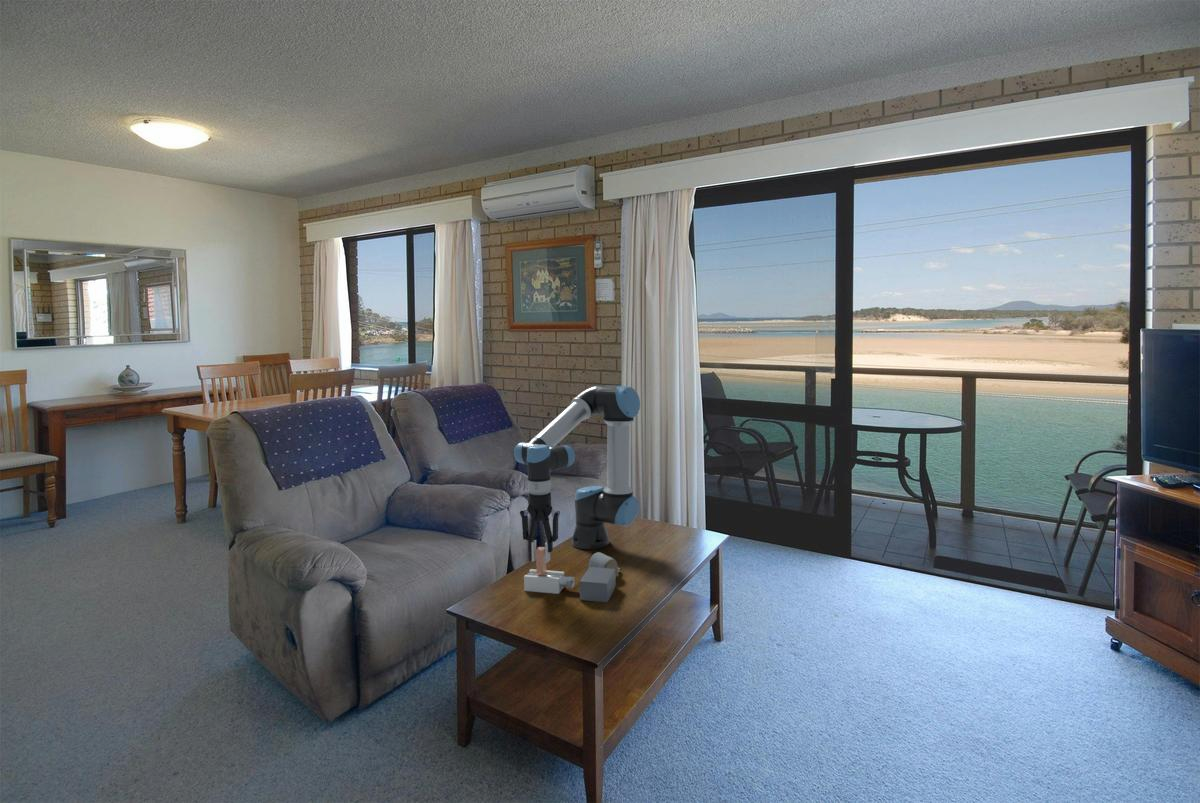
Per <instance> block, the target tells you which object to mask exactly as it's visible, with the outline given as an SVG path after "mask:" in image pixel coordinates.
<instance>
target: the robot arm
mask: <svg viewBox="0 0 1200 803" xmlns="http://www.w3.org/2000/svg"><path fill="white" fill-rule="evenodd" d="M640 408H641V400H640V397H639V394H638V392H637V391H636V389H635V388H634V387H631V386H628V385H614V384H613V385H609V384H607V385H605V384H597V385H594V386H590V387H588V388H587V389H585V390H583V391H582V392H580V393H579V394H577V395H576V396H575V397H574V398H573V399H571V400H570V404H569V405H568V406H567V407H566V408H565V409H564V410H563V411H562V412H561V413H560V414H558V415H557V416H556V417H555V418H554V419H553V420H552V421H551V422H549V423H548V424H547V425H546V426H545V427H544V428H543V429H541V430H540V431H539V433H538V434H536V435H535V436H534V437H533V438H532V439H531V440H530V439H529V441H528V442H527V441H524V442H519V443H518V444H516V446H515V447H514V449H513V450H514V451H513V456H514V458H515V461H516V462H518V463H520V464H523V465H527V466H526V467H527V468H526V471H527V472H526V473H527V492H528V493H527V502H528V505H527V508H523V509H521V510H520V511H519V514H520V516H521V528H522V538H523V540H526V541H527V542H528V550H529V551H531V562H536V549H537V539H535V535H536V530H537V525H538V524H537V523H538V521H541V523H542V525H543V529H544V533H545V538H546V542H545V543H544V545H545V546H544V547H545V556H546V564H547V563H549V562H550V561H551V553H552V552H553V549H554V547H553V546H554V544H553V543H555V542H557V540H558V539H559V518H560V514H561V511H560V510H555V509H553V506H552V492H551V489H552V484H551V483H552V482H551V472H554V471H557V470H562V469H566V468H569V467H570V466H572V465H573V464H574V463H575V460H576V453H575V450H574V448H572V446H569V445H568V444H567V445H559V446H557V445H558V444H559V443H560V442H561V441H562V440H564V438H565V437H566V436H568V434H570V433H571V432H572V431H573V430H574V429H575V428H576V427H577V426H578V425H580V423H581V422H582V421H585V420H588V419H590V418H591V417H592V416H594V415H603V422H604V423H605V424H606V426H607V427H606V428H607V431H606V433H607V435H606V436H607V439H606V440H607V443H606V445H607V446H606V447H607V448H606V457H607V458H606V486H605V487H604V486H601V485H591V486H584V487H581V488H579V489H577V490H576V491H575V498H574V503H575V504H574V506H575V508H574V509H575V510H574V512H575V526H574V530H573V534H572V536H571V545H572V546H573V547H574V548H577V549H582V550H598V549H602V548H605V547H607V546H608V545H610V537H609V533H608V531H607V528H606V524H605V523H607V524H610V525H611V524H612V525H615V526H618V527H619V526H623V527H628V526H630V525H631V524H632V523H633V522H634V521H636V520H635V519H636V518H637V516H638V513H639V511H640V510H639V508H640V503H639V502H640V501H639V500H638V498H637V497H635V496H634V490H633V489H632V488H631V487H630V431H631V430H630V425H631V424H632V423H633V422H634V418H635V417H636V416H637V415H638V414H639V411H640ZM528 515H530V516H531V520H530V528H529V517H528ZM550 515H551V517H552V529H551V524H550V517H549V516H550Z"/></svg>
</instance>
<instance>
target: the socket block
mask: <svg viewBox="0 0 1200 803" xmlns="http://www.w3.org/2000/svg"><path fill="white" fill-rule="evenodd" d="M616 584H617V583H616V574H615V569H610V568H597V567H589V566H588V568H587V570H586V571H585V573H584V574H583V576H582V577H581V578H580V580H579V600H581V601H589V602H598V603H608V602H609V600H610V598H611V596H612V594H613V593H614V591H615V589H616Z"/></svg>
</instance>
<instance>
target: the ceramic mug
mask: <svg viewBox="0 0 1200 803" xmlns="http://www.w3.org/2000/svg"><path fill="white" fill-rule="evenodd" d="M589 567H597V568H610V569H615V575H616V574H617V573H620V571H621V568H620V567H619V566H618V562H617V560H616V559H615V558H613V557H611V556H609V555H607V554H605V553H602V552H600V551H599V552H595V553H593V554H592V555H591V557H590V559H589V562H588V568H589Z"/></svg>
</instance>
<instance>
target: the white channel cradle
mask: <svg viewBox="0 0 1200 803" xmlns="http://www.w3.org/2000/svg"><path fill="white" fill-rule="evenodd" d="M528 573H533V574H537V572H536V569H533V568H530V569H529V572H528ZM545 575H557V576H565V571H558V570H548V569H546V574H545ZM523 583H524V584H523V585H524V588H523V589H524V591H525V592H535V593H543V594H545V593H546V594H554V595H555V594H556V595H557V594H560V593H561V592H562V590H563V589H564V588H565V587H560V578H556V577H544V576H532V575H527V574H525V575H523Z"/></svg>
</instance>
